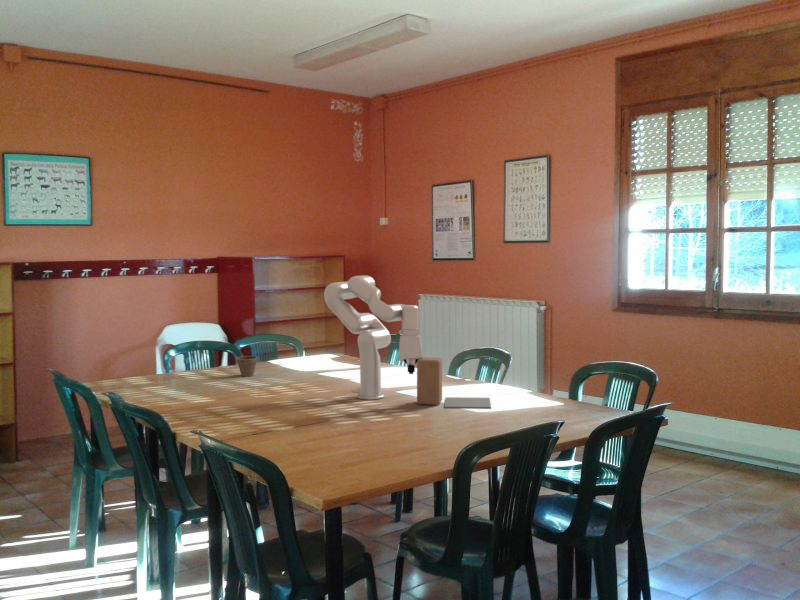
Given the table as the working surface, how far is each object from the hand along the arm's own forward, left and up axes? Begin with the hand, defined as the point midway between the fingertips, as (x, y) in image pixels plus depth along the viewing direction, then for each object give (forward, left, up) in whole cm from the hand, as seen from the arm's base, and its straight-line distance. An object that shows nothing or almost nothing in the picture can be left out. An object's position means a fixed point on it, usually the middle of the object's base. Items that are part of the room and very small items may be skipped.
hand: (411, 373), depth 344 cm
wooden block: (+8, 0, -14) cm, 16 cm away
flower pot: (-95, +68, -14) cm, 118 cm away
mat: (+25, 0, -13) cm, 28 cm away
